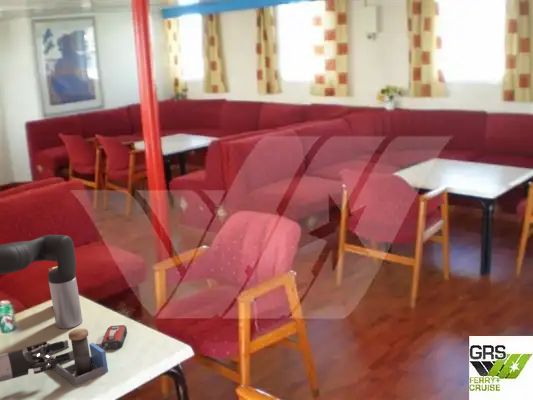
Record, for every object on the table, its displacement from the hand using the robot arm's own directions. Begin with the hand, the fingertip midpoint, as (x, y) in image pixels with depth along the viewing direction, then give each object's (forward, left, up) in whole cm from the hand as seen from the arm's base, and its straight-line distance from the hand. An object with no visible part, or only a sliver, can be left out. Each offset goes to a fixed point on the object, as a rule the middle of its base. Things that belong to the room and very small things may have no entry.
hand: (66, 350), depth 188 cm
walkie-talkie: (-10, +19, -10) cm, 23 cm away
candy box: (-51, +21, -10) cm, 56 cm away
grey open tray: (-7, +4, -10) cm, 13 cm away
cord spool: (+1, +4, -10) cm, 10 cm away
